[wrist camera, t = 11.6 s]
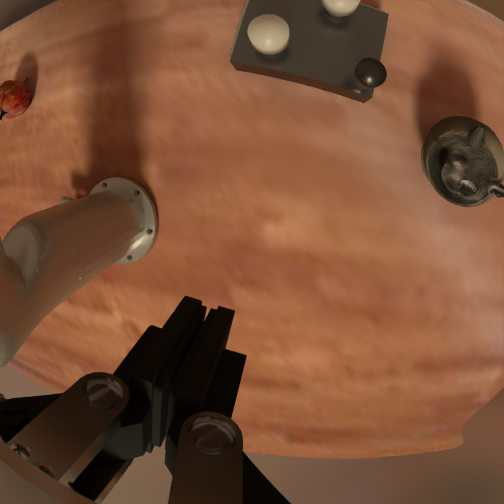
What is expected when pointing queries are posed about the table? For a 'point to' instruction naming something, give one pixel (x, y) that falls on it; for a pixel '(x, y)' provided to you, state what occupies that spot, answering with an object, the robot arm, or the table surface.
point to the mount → (314, 45)
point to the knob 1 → (269, 34)
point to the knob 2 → (340, 7)
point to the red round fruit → (13, 99)
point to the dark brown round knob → (369, 74)
